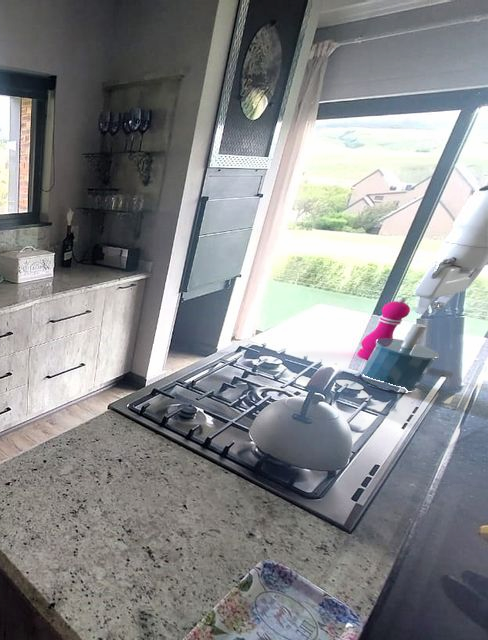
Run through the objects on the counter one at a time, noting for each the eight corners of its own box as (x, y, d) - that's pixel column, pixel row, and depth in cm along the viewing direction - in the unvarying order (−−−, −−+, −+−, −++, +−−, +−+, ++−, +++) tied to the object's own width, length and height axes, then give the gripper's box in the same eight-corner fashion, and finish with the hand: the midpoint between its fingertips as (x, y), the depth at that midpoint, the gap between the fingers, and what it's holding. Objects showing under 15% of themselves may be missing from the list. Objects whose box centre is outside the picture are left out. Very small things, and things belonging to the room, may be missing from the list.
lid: (445, 357, 107) (462, 330, 103) (423, 365, 102) (440, 337, 98) (388, 339, 117) (402, 314, 113) (365, 345, 112) (379, 319, 108)
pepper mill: (381, 364, 125) (417, 302, 115) (352, 356, 130) (384, 296, 120) (386, 358, 129) (421, 298, 119) (358, 350, 134) (389, 292, 124)
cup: (421, 388, 112) (443, 354, 107) (400, 397, 108) (422, 362, 102) (372, 370, 121) (390, 338, 116) (351, 377, 117) (369, 344, 111)
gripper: (461, 262, 91) (425, 320, 97) (496, 257, 99) (461, 310, 105) (425, 256, 95) (393, 311, 102) (461, 251, 104) (430, 302, 110)
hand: (428, 311), depth 104 cm, fingers open, 8 cm apart
